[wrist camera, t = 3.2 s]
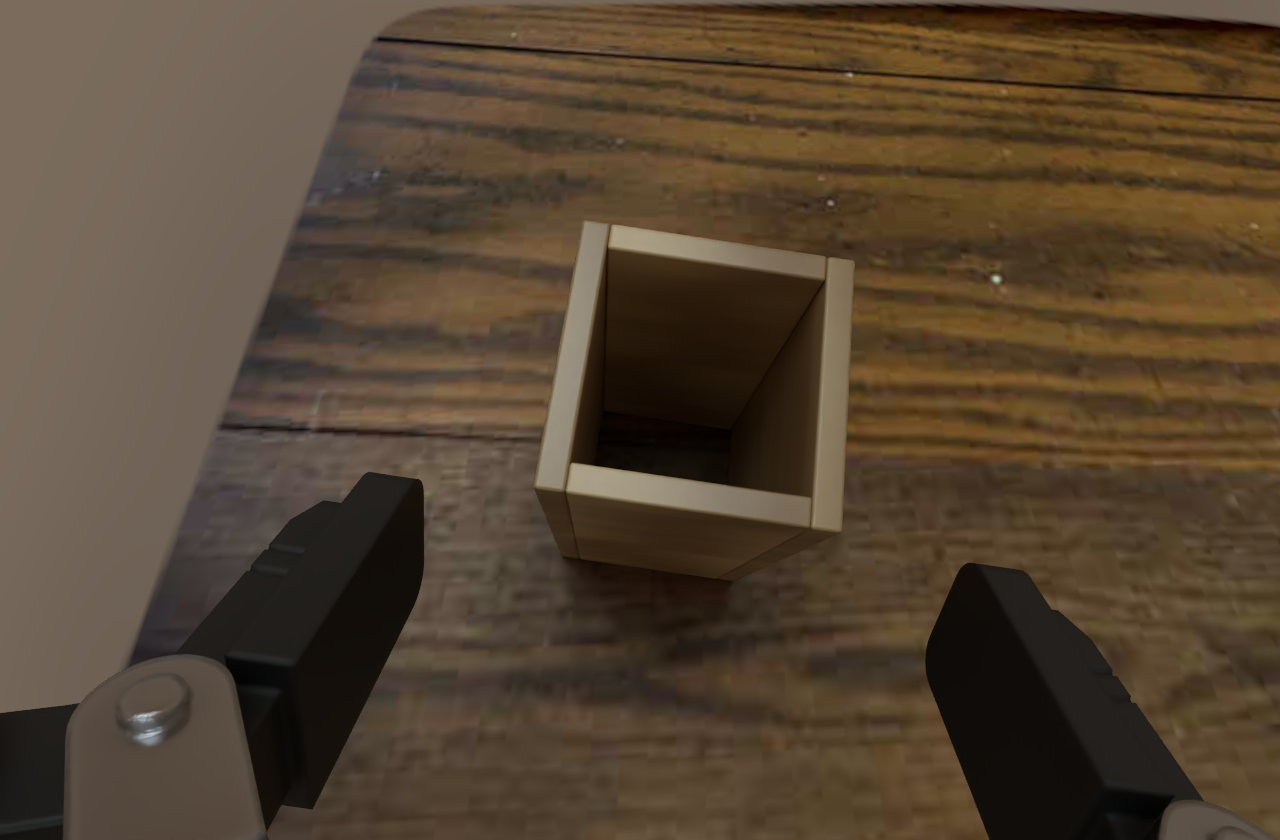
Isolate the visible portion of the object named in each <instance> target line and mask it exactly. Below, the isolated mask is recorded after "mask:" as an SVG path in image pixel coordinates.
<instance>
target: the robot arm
mask: <svg viewBox="0 0 1280 840" xmlns="http://www.w3.org/2000/svg"><path fill="white" fill-rule="evenodd" d="M423 569H424V490H423V485H422V482H421V481H420V480H419V479H413V478H406V477H399V476H393V475H386V474H379V473H372V472H368V473H366V474H364V475H363V476H362V478H361V479H360V480H359V481H358V483H357V484H356V485H355V487H354V488H353V489H352V490H351V492H350V493H349V494H348V496H347V497H346V498H345V499H344V501H343V502H342V503H337V502H330V501H322V502H320V503H318V504H317V505H315V506H313V507H312V508H310V509H308V510H306V511H305V512H303V513H301V514H300V515H298V516H296V517H294V518H293V519H291V520H290V521H289V522H288V523H287V525H286V526H285V527H284V528H283V529H282V530H281V532H280V533H279V534H278V535H277V536H276V537H275V539H274V540H273V541H272V542H271V543H270V544H269V549H268V550H264V551H263V552H262V554H261V555H260V556H259V557H258V558H257V559H256V561H255V562H254V563H253V564H252V565H251V570H250V571H246V572H245V573H244V575H243V576H242V577H241V578H240V579H239V580H238V582H237V583H236V584H235V585H234V586H233V587H232V588H231V590H230V591H229V592H228V593H227V594H226V595H225V597H224V598H223V599H222V600H221V601H220V602H219V604H218V605H217V606H216V607H215V608H214V609H213V611H212V612H211V613H210V614H209V615H208V616H207V618H206V619H205V620H204V621H203V622H202V623H201V625H200V626H199V627H198V628H197V629H196V630H195V631H194V633H193V634H192V635H191V636H190V637H189V638H188V640H187V641H186V642H185V643H184V644H183V645H182V647H181V648H180V649H179V650H178V651H177V652H176V653H175V654H174V655H170V656H163V657H159V658H155V659H150V660H147V661H144V662H141V663H138V664H136V665H133V666H131V667H129V668H127V669H124V670H122V671H121V672H119V673H117V674H115V675H113V676H112V677H110V678H108V679H107V680H106V681H104V682H103V683H101V684H100V685H98V686H97V687H96V688H95V689H94V690H93V691H91V692H90V693H89V694H88V695H87V696H86V697H85V698H84V699H83V701H82V702H81V703H78V704H72V705H65V706H57V707H48V708H40V709H32V710H23V711H15V712H6V713H0V840H268V838H267V833H266V832H267V830H268V829H269V827H270V825H271V823H272V821H273V819H274V817H275V816H276V814H277V812H278V810H279V808H280V806H281V805H286V806H293V807H300V808H307V809H313V807H314V805H315V803H316V801H317V799H318V797H319V795H320V793H321V791H322V789H323V787H324V785H325V783H326V781H327V779H328V777H329V775H330V773H331V771H332V769H333V767H334V765H335V763H336V761H337V759H338V757H339V755H340V753H341V751H342V749H343V747H344V745H345V743H346V741H347V739H348V737H349V735H350V733H351V731H352V729H353V727H354V725H355V723H356V721H357V719H358V717H359V715H360V713H361V711H362V709H363V707H364V705H365V703H366V701H367V699H368V697H369V695H370V693H371V691H372V689H373V687H374V685H375V683H376V681H377V679H378V677H379V675H380V673H381V671H382V669H383V667H384V665H385V663H386V661H387V659H388V657H389V655H390V653H391V651H392V649H393V647H394V645H395V643H396V641H397V639H398V637H399V635H400V633H401V631H402V629H403V627H404V625H405V623H406V621H407V619H408V617H409V615H410V613H411V611H412V609H413V607H414V605H415V602H416V600H417V597H418V594H419V590H420V586H421V582H422V577H423ZM925 664H926V674H927V679H928V682H929V685H930V688H931V690H932V693H933V696H934V698H935V701H936V703H937V706H938V708H939V711H940V713H941V716H942V719H943V721H944V724H945V726H946V729H947V731H948V734H949V737H950V739H951V742H952V744H953V747H954V749H955V752H956V755H957V757H958V760H959V762H960V765H961V767H962V770H963V773H964V775H965V778H966V780H967V783H968V785H969V788H970V791H971V793H972V796H973V798H974V801H975V803H976V806H977V808H978V811H979V814H980V816H981V819H982V821H983V824H984V826H985V829H986V832H987V834H988V837H989V839H990V840H1275V839H1274V838H1273V837H1272V836H1270V835H1269V834H1268V833H1266V832H1265V831H1263V830H1262V829H1261V828H1259V827H1258V826H1256V825H1255V824H1253V823H1251V822H1250V821H1248V820H1247V819H1245V818H1243V817H1241V816H1239V815H1238V814H1236V813H1234V812H1232V811H1230V810H1227V809H1225V808H1223V807H1220V806H1218V805H1215V804H1211V803H1208V802H1204V800H1203V799H1202V797H1201V796H1200V795H1199V793H1198V792H1197V790H1196V789H1195V787H1194V786H1193V785H1192V783H1191V782H1190V780H1189V779H1188V777H1187V776H1186V775H1185V773H1184V772H1183V770H1182V769H1181V767H1180V766H1179V765H1178V763H1177V762H1176V760H1175V759H1174V757H1173V756H1172V754H1171V753H1170V752H1169V750H1168V749H1167V747H1166V746H1165V744H1164V743H1163V742H1162V740H1161V739H1160V737H1159V736H1158V734H1157V733H1156V732H1155V730H1154V729H1153V727H1152V726H1151V724H1150V723H1149V722H1148V720H1147V719H1146V717H1145V716H1144V714H1143V713H1142V712H1141V710H1140V709H1139V707H1138V706H1137V704H1136V703H1131V701H1130V697H1131V696H1130V694H1129V693H1128V692H1127V690H1126V689H1125V687H1124V686H1123V684H1122V683H1121V682H1120V680H1119V679H1118V677H1116V676H1113V675H1112V671H1113V670H1112V669H1111V667H1110V666H1109V664H1108V663H1107V662H1106V660H1105V659H1104V657H1103V656H1102V654H1101V653H1100V652H1099V650H1098V649H1097V647H1096V646H1095V644H1094V643H1093V641H1092V640H1091V639H1090V638H1089V637H1088V636H1087V635H1085V634H1084V633H1083V632H1082V631H1081V630H1080V629H1079V628H1077V627H1076V626H1075V625H1074V624H1073V623H1072V622H1071V621H1069V620H1068V619H1067V618H1066V617H1065V616H1064V615H1063V614H1061V613H1060V612H1059V611H1057V610H1052V609H1051V608H1050V606H1049V605H1048V603H1047V602H1046V600H1045V599H1044V597H1043V596H1042V594H1041V593H1040V591H1039V590H1038V588H1037V587H1036V585H1035V584H1034V582H1033V581H1032V579H1031V578H1030V577H1029V575H1028V574H1027V573H1025V572H1024V571H1022V570H1016V569H1010V568H1003V567H996V566H989V565H983V564H976V563H967V564H965V565H964V566H963V567H962V568H961V569H960V570H959V572H958V574H957V576H956V578H955V580H954V583H953V585H952V587H951V590H950V592H949V594H948V596H947V599H946V601H945V603H944V605H943V608H942V610H941V612H940V615H939V617H938V619H937V621H936V624H935V626H934V628H933V631H932V633H931V635H930V638H929V640H928V644H927V649H926V659H925Z"/></svg>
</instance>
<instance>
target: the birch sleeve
mask: <svg viewBox="0 0 1280 840" xmlns="http://www.w3.org/2000/svg"><path fill="white" fill-rule="evenodd" d="M854 269H855V263H854V261H852V260H846V259H839V258H832V257H830V258H827V260H826V257H824V256H819V255H812V254H806V253H799V252H793V251H786V250H779V249H773V248H766V247H760V246H753V245H746V244H740V243H733V242H726V241H720V240H713V239H707V238H700V237H693V236H687V235H680V234H674V233H667V232H660V231H654V230H647V229H640V228H634V227H627V226H621V225H612V226H611V227H610V225H609V224H607V223H601V222H594V221H587V220H585V221H583V223H582V226H581V232H580V237H579V242H578V248H577V253H576V259H575V264H574V269H573V275H572V280H571V285H570V291H569V296H568V301H567V307H566V312H565V318H564V323H563V328H562V334H561V339H560V344H559V350H558V355H557V360H556V366H555V371H554V377H553V382H552V387H551V393H550V398H549V403H548V409H547V414H546V419H545V425H544V430H543V436H542V441H541V446H540V452H539V457H538V462H537V468H536V473H535V478H534V484H533V486H534V489H535V492H536V494H537V497H538V499H539V502H540V504H541V506H542V509H543V511H544V514H545V516H546V519H547V521H548V523H549V526H550V528H551V531H552V533H553V535H554V538H555V540H556V543H557V545H558V548H559V550H560V552H561V555H562V556H563V557H569V558H576V559H578V558H579V557H580V559H583V560H590V561H597V562H603V563H610V564H617V565H624V566H631V567H638V568H645V569H652V570H659V571H666V572H673V573H680V574H686V575H693V576H700V577H707V578H714V579H715V578H718V579H721V580H728V581H735V580H737V579H739V578H741V577H744V576H746V575H748V574H750V573H752V572H755V571H757V570H759V569H761V568H764V567H766V566H768V565H770V564H773V563H775V562H777V561H779V560H781V559H784V558H786V557H788V556H790V555H793V554H795V553H797V552H799V551H801V550H804V549H806V548H808V547H810V546H813V545H815V544H817V543H819V542H821V541H824V540H826V539H828V538H830V537H833V536H835V535H837V534H839V533H841V531H842V520H843V499H844V478H845V457H846V436H847V415H848V395H849V374H850V353H851V332H852V311H853V290H854ZM603 409H604V411H606V412H613V413H620V414H627V415H634V416H640V417H647V418H654V419H661V420H667V421H674V422H681V423H688V424H695V425H701V426H708V427H715V428H722V429H728V430H730V429H732V433H731V443H730V453H729V463H728V473H727V483H726V485H722V484H716V483H709V482H702V481H695V480H688V479H681V478H675V477H668V476H661V475H654V474H647V473H640V472H634V471H627V470H620V469H613V468H606V467H600V466H594V464H595V458H596V452H597V446H598V439H599V433H600V427H601V421H602V414H603Z"/></svg>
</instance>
